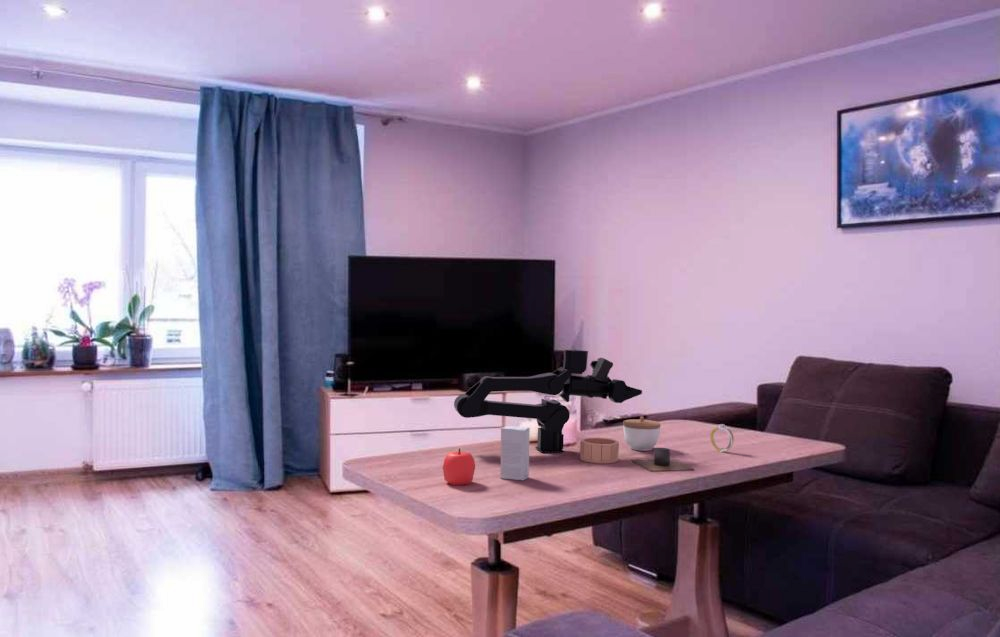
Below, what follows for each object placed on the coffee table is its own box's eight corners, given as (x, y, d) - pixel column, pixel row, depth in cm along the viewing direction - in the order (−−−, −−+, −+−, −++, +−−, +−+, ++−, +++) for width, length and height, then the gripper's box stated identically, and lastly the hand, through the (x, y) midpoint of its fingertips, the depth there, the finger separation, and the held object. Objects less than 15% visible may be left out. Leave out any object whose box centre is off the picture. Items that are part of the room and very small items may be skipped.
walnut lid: (650, 474, 186) (651, 454, 186) (631, 463, 198) (631, 445, 198) (693, 472, 189) (694, 453, 189) (672, 462, 201) (672, 444, 201)
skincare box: (529, 477, 177) (530, 427, 177) (523, 481, 173) (525, 430, 173) (505, 474, 179) (506, 425, 179) (499, 478, 175) (500, 428, 175)
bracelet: (708, 450, 216) (709, 423, 216) (715, 449, 218) (716, 422, 218) (727, 454, 211) (728, 426, 210) (735, 453, 212) (735, 425, 212)
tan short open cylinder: (588, 464, 193) (588, 445, 193) (575, 456, 203) (575, 437, 203) (623, 463, 196) (624, 444, 195) (609, 455, 205) (610, 437, 205)
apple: (448, 488, 165) (448, 452, 165) (436, 480, 172) (437, 446, 172) (481, 485, 168) (482, 450, 168) (468, 477, 175) (469, 444, 175)
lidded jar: (663, 452, 211) (664, 420, 210) (625, 451, 211) (626, 419, 211) (655, 445, 221) (656, 414, 221) (620, 444, 221) (620, 413, 221)
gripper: (597, 360, 202) (651, 365, 205) (577, 356, 220) (626, 360, 223) (593, 401, 202) (647, 405, 205) (573, 393, 220) (623, 396, 223)
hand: (635, 390), depth 214 cm, fingers open, 9 cm apart
